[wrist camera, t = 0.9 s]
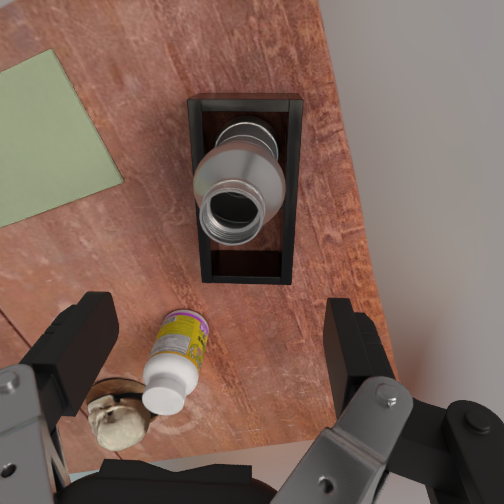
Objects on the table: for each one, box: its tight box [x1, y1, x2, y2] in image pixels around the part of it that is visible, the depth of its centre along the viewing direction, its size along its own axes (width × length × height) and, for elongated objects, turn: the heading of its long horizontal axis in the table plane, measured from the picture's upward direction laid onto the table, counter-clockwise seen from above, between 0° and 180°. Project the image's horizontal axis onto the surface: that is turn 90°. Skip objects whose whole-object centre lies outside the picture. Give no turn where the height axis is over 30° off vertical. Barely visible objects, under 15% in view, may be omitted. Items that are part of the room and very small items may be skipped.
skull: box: [86, 379, 158, 451], centre depth 58 cm, size 12×10×10 cm
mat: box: [0, 49, 124, 228], centre depth 39 cm, size 22×14×1 cm, turn 110°
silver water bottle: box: [193, 116, 286, 245], centre depth 29 cm, size 6×7×20 cm
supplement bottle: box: [142, 310, 209, 415], centre depth 45 cm, size 7×7×13 cm
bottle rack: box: [187, 93, 303, 285], centre depth 37 cm, size 19×10×6 cm, turn 0°
